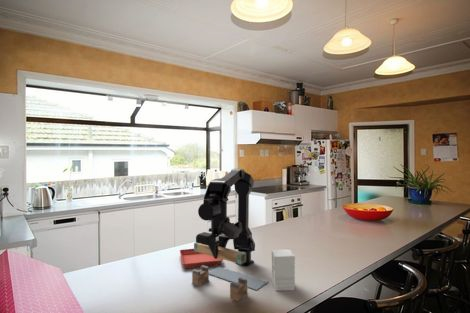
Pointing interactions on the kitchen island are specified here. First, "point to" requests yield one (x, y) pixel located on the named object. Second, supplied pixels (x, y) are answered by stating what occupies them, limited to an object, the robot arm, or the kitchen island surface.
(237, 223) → the robot arm
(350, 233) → the kitchen island surface
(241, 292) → the post
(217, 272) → the mat
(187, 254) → the plant saucer
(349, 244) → the kitchen island surface
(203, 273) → the post
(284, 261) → the supplement box
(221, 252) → the rail
